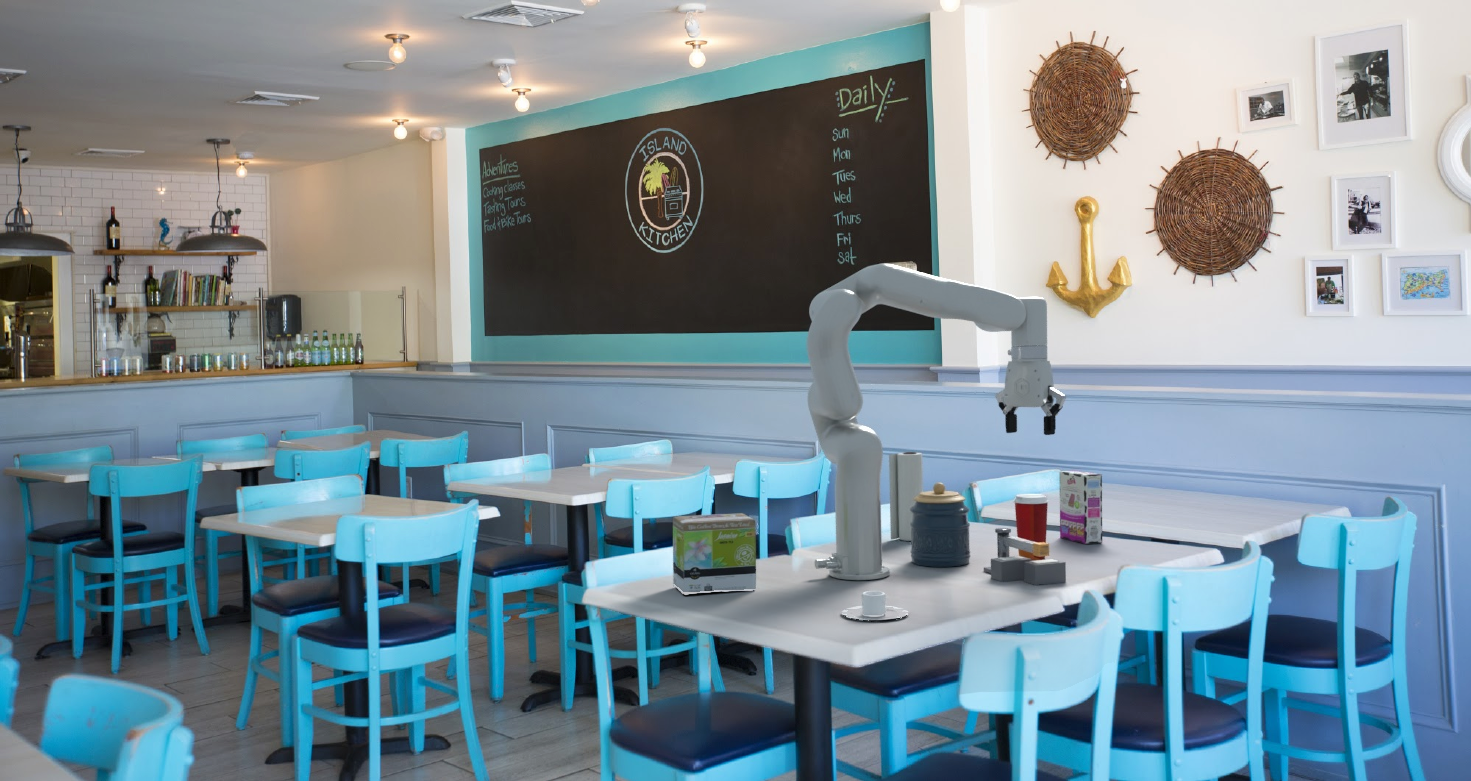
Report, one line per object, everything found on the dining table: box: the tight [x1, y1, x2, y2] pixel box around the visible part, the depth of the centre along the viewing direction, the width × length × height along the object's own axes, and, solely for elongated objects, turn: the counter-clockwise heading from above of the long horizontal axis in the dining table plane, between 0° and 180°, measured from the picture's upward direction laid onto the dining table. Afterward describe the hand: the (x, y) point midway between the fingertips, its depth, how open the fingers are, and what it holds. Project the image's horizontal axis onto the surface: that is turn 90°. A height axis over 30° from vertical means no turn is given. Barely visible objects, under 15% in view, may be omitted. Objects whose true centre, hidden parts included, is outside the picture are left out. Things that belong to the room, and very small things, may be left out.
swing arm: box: [1004, 535, 1050, 557], centre depth 242 cm, size 13×2×2 cm, turn 19°
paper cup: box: [1012, 493, 1050, 561], centre depth 265 cm, size 8×8×14 cm
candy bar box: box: [1058, 470, 1103, 545], centre depth 286 cm, size 11×5×16 cm, turn 17°
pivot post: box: [983, 527, 1012, 574], centre depth 250 cm, size 6×6×9 cm
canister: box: [910, 482, 971, 568], centre depth 263 cm, size 13×13×18 cm
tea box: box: [672, 512, 757, 592], centre depth 240 cm, size 15×10×15 cm, turn 105°
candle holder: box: [841, 590, 909, 622], centre depth 215 cm, size 12×12×4 cm
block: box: [990, 555, 1031, 583], centre depth 243 cm, size 7×4×4 cm, turn 109°
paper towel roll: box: [888, 451, 924, 542], centre depth 293 cm, size 7×6×21 cm
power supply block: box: [1023, 558, 1067, 586], centre depth 239 cm, size 7×4×4 cm, turn 109°
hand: (1030, 433), depth 259 cm, fingers open, 9 cm apart
